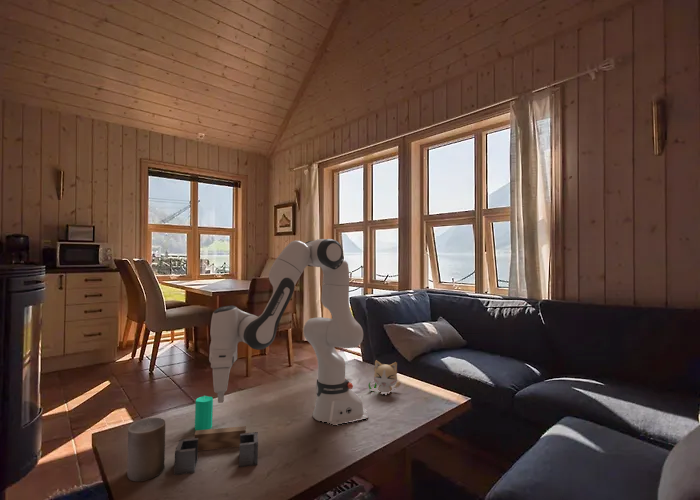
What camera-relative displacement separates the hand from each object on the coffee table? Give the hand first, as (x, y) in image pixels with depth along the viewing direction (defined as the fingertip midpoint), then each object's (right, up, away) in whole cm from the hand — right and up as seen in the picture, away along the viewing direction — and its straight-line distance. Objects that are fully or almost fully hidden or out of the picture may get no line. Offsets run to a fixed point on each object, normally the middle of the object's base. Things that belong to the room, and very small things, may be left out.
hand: (221, 396), depth 121 cm
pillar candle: (-17, -16, -15) cm, 28 cm away
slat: (0, -17, 0) cm, 17 cm away
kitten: (+59, -19, +51) cm, 80 cm away
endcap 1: (-6, -16, -12) cm, 21 cm away
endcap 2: (+11, -17, -7) cm, 21 cm away
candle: (-11, -17, +12) cm, 24 cm away
